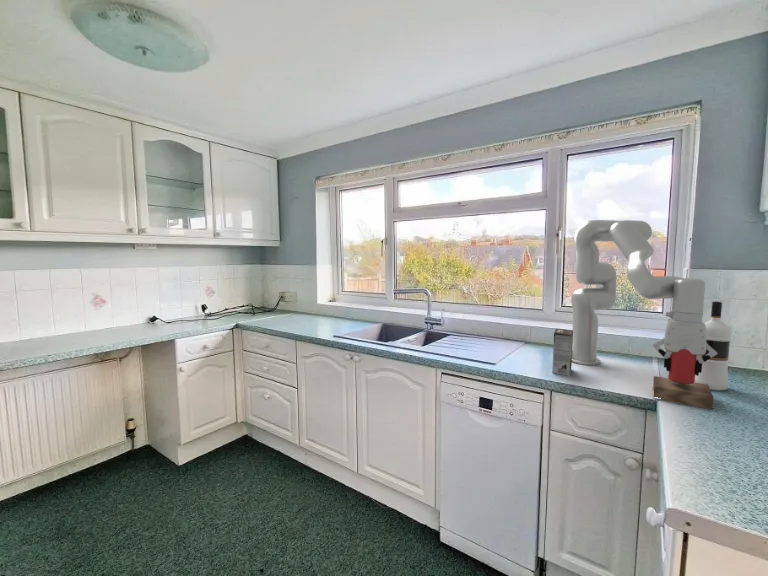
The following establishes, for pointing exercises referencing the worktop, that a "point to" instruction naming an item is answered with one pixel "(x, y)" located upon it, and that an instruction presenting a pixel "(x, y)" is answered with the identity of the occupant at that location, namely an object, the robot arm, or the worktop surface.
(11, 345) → the worktop surface
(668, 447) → the worktop surface
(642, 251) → the robot arm
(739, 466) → the worktop surface
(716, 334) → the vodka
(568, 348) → the coffee box
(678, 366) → the beer can
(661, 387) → the walnut base
